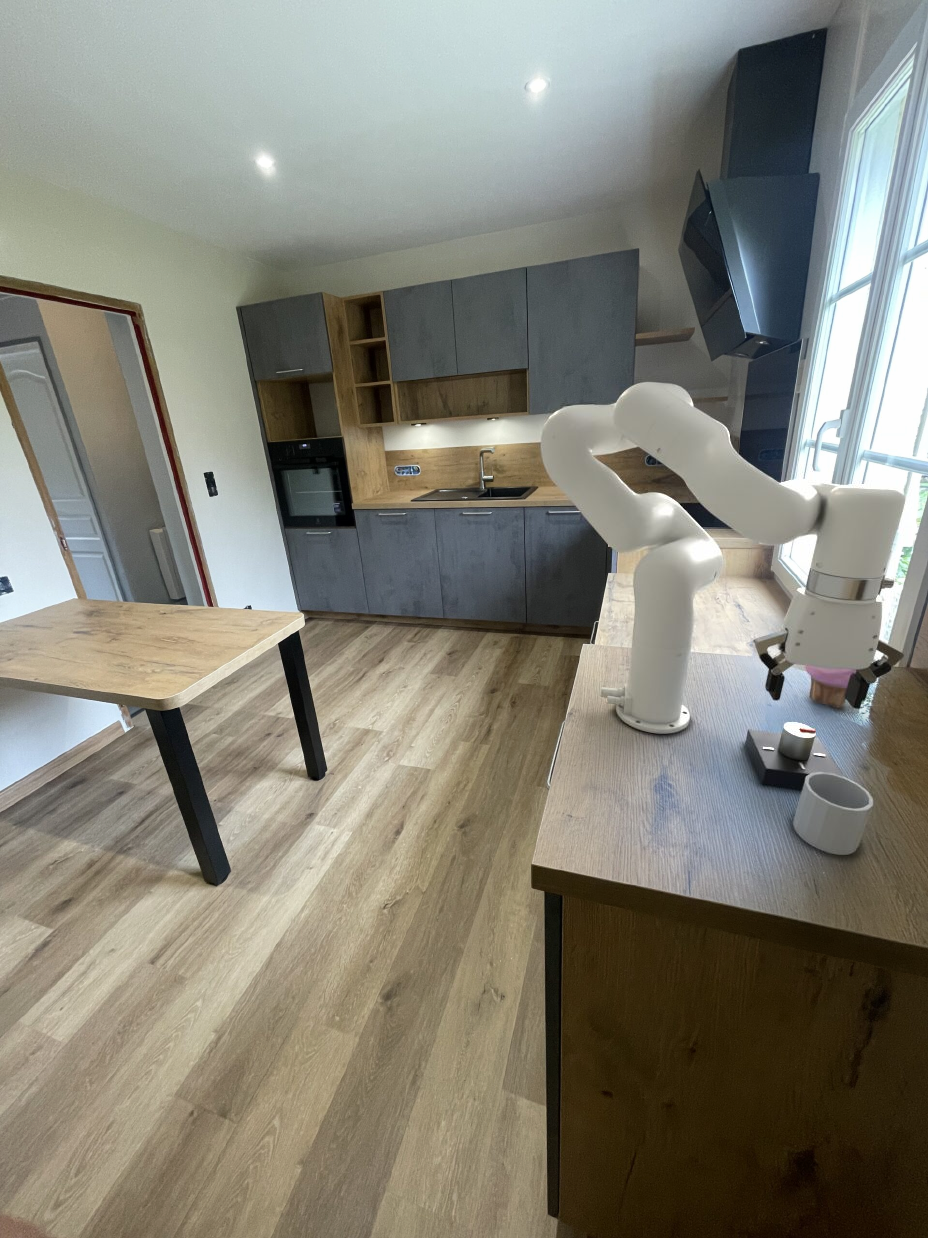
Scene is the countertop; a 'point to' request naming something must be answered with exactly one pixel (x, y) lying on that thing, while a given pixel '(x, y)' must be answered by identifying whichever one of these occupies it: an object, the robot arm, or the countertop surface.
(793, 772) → the panel
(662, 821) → the countertop surface
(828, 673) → the cupcake
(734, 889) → the countertop surface
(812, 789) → the pot
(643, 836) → the countertop surface
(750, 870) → the countertop surface
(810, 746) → the oven knob
